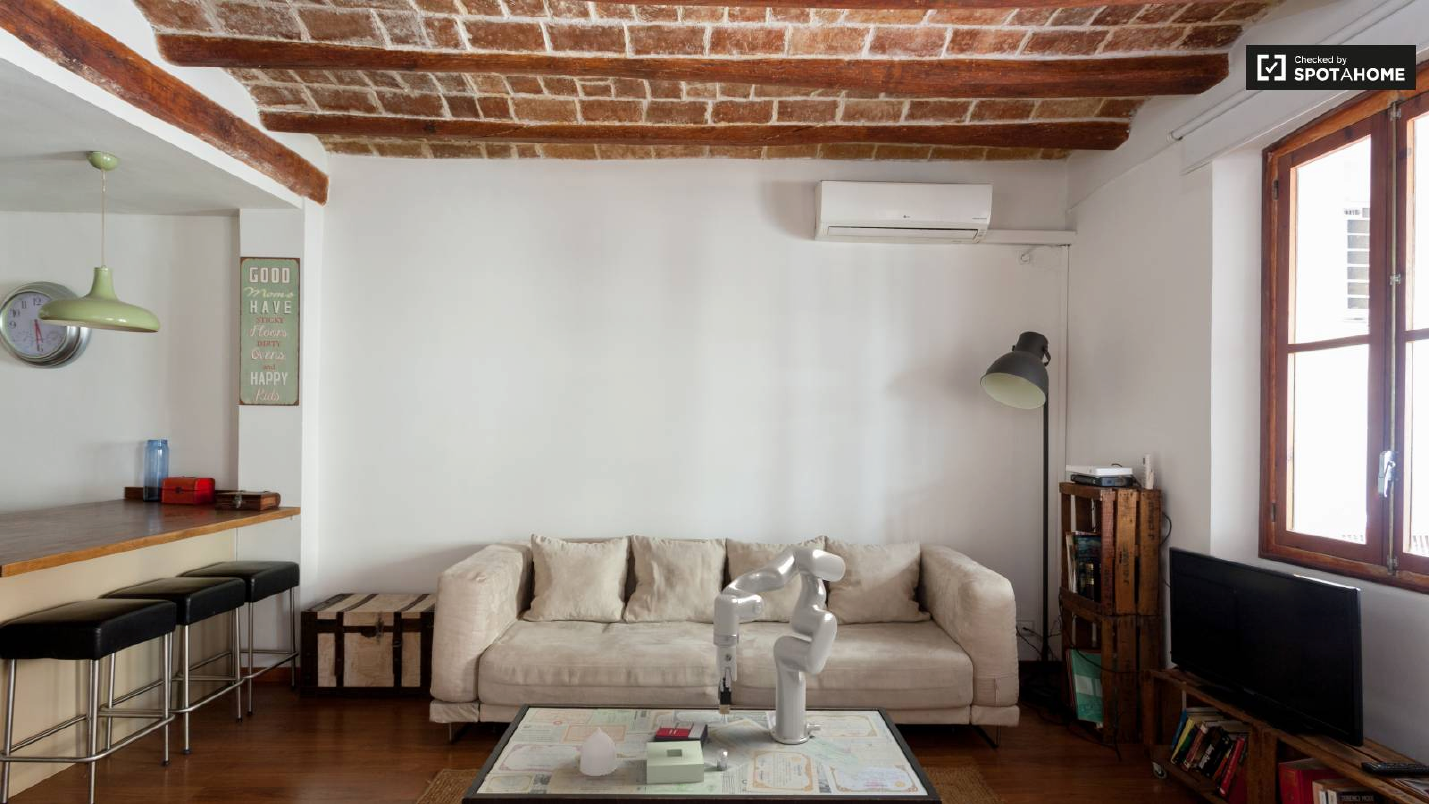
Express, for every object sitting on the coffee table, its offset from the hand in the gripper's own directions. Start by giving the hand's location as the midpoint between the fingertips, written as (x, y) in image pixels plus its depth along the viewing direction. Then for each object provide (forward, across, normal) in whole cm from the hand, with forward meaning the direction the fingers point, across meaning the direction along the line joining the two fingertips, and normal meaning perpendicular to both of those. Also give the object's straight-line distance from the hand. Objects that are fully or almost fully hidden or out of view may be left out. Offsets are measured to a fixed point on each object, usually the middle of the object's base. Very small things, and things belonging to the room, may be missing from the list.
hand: (724, 701), depth 213 cm
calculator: (+20, +20, +10) cm, 30 cm away
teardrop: (+21, +6, +36) cm, 42 cm away
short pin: (+20, +1, 0) cm, 20 cm away
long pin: (+3, 0, 0) cm, 3 cm away
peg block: (+20, +1, +14) cm, 24 cm away
